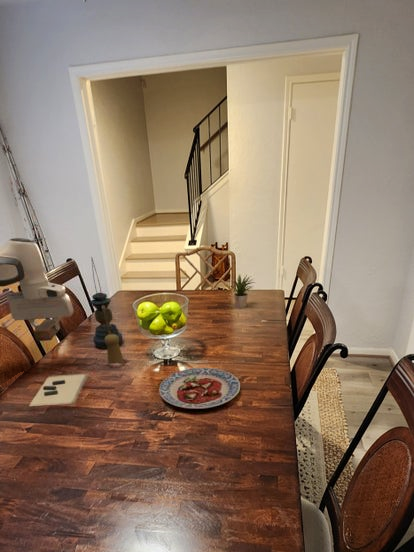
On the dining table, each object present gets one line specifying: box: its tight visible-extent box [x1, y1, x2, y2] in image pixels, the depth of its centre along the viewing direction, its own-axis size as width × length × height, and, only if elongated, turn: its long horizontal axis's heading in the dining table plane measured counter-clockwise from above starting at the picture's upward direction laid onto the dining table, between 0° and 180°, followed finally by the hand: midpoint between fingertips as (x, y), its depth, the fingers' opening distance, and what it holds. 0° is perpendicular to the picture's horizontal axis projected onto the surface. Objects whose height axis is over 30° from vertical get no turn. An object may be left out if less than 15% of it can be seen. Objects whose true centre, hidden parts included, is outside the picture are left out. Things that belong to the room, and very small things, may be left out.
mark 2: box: [44, 390, 58, 396], centre depth 119 cm, size 4×1×1 cm, turn 103°
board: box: [28, 373, 89, 407], centre depth 123 cm, size 14×20×1 cm
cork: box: [104, 334, 125, 365], centre depth 138 cm, size 6×6×11 cm
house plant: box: [229, 274, 256, 309], centre depth 187 cm, size 14×14×16 cm
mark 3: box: [52, 380, 65, 385], centre depth 125 cm, size 4×1×1 cm, turn 103°
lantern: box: [90, 256, 123, 350], centre depth 147 cm, size 14×12×35 cm
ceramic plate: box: [158, 367, 241, 410], centre depth 118 cm, size 26×26×3 cm
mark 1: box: [43, 386, 56, 390], centre depth 122 cm, size 4×1×1 cm, turn 83°
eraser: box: [33, 318, 61, 342], centre depth 130 cm, size 5×12×4 cm, turn 4°
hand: (47, 330), depth 130 cm, fingers closed on eraser, 5 cm apart
